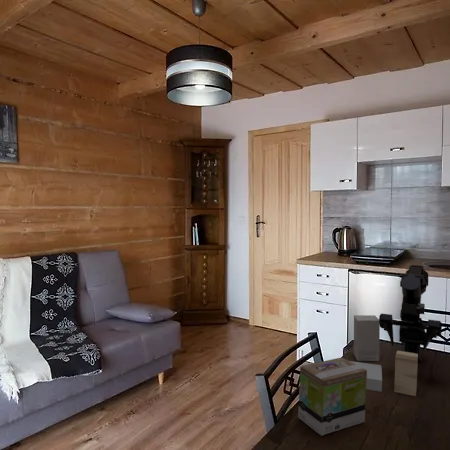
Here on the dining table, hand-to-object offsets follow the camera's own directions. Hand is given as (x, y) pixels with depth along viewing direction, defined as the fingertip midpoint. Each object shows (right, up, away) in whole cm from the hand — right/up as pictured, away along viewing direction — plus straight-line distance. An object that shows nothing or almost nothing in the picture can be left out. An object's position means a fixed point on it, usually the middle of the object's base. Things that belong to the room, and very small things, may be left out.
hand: (407, 348), depth 128 cm
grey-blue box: (-14, -12, +3) cm, 18 cm away
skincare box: (-6, -11, +21) cm, 24 cm away
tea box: (-30, -13, -21) cm, 39 cm away
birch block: (-2, -12, -4) cm, 13 cm away
